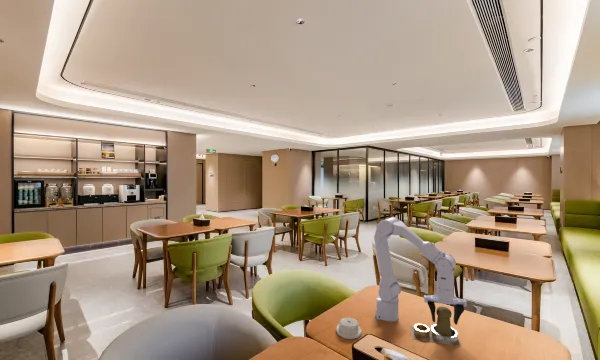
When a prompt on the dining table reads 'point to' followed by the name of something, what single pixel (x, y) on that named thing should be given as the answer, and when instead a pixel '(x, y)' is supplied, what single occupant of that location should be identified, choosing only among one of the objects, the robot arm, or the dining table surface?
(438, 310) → the olive bulbous peg
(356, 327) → the mechanical component
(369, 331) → the dining table surface
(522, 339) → the dining table surface
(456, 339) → the wide steel ring
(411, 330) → the smooth grayish brown board
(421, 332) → the narrow bronze ring
